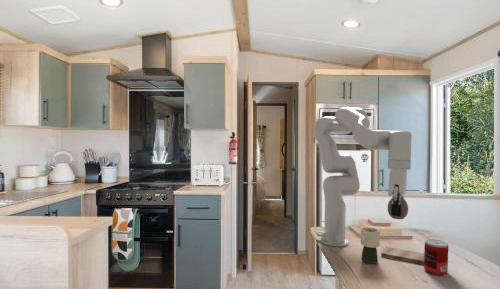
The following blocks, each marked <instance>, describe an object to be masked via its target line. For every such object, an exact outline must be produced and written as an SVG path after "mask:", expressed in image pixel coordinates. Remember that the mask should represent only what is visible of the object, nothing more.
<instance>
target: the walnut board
mask: <svg viewBox="0 0 500 289" xmlns="http://www.w3.org/2000/svg"><path fill="white" fill-rule="evenodd" d="M380 254H381V256H380V257H381V258H387V259H391V258H392V259H391V260H396V259H397V260H398V261H403V262H406V263H413V264H418V265H421V266H422V265H423V266H424V252H420V251H419V252H418V251H412V250H408V249H402V248H395V247H392V246H391V247H390V246H384V249H382V251H381V253H380Z"/></svg>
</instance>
